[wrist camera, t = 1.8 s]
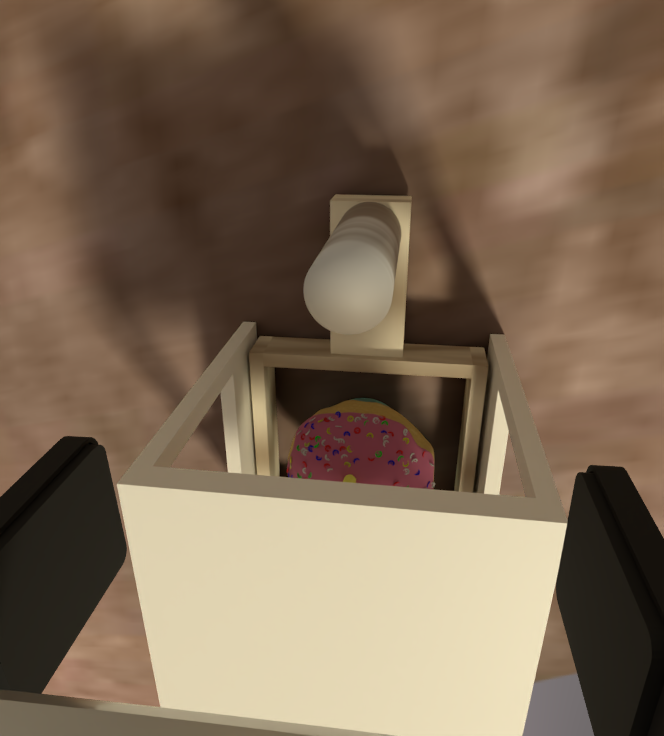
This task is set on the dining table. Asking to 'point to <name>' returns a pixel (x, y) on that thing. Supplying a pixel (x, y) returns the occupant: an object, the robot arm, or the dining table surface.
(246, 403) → the white open frame box
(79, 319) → the dining table surface
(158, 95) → the dining table surface
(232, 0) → the dining table surface
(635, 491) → the robot arm
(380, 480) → the cupcake
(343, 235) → the cream frame with post
